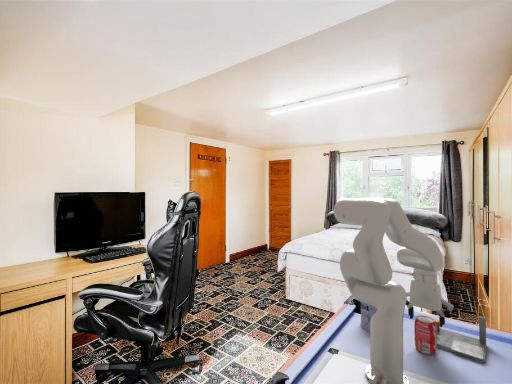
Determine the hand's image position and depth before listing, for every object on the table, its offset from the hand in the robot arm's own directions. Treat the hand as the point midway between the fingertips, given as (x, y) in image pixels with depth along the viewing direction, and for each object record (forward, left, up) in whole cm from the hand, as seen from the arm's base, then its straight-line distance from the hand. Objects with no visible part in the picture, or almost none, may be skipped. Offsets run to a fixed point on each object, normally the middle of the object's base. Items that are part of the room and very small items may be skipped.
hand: (426, 321), depth 100 cm
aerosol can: (+3, +22, -11) cm, 25 cm away
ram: (+12, 0, -9) cm, 15 cm away
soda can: (-1, 0, -11) cm, 11 cm away
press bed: (+12, -7, -11) cm, 18 cm away
